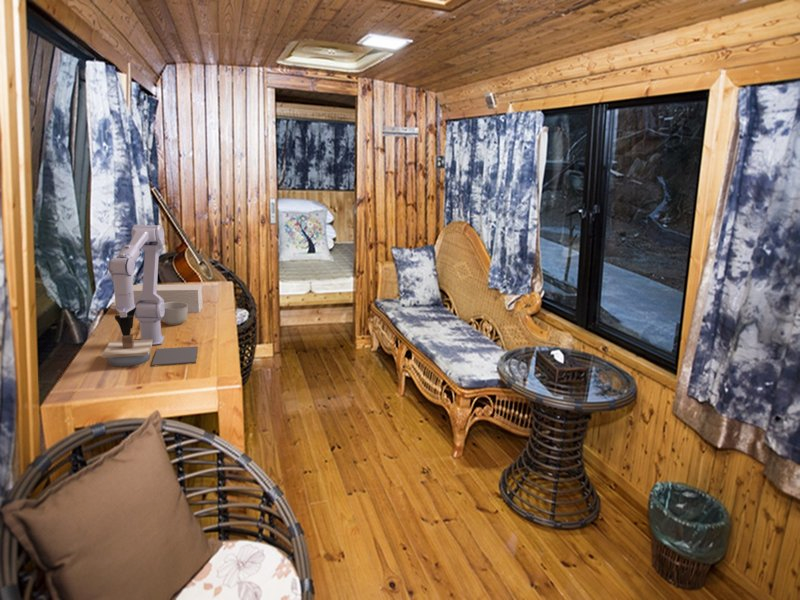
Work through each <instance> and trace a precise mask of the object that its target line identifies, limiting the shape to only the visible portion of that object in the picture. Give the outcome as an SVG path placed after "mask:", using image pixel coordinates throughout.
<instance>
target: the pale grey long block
mask: <svg viewBox="0 0 800 600" xmlns="http://www.w3.org/2000/svg"><path fill="white" fill-rule="evenodd" d="M142 289H143V284H133V294H134V303H135V298H136V297H138V296H139V295H140V294H142ZM157 294H158V295H159V296H160V297H161V298H163V300H164V303H167V302H183V303H186V304H187V305H188V307H187V309H188V314H189V313H190V314H192V313H193V314H196V313H197V314H198V313H200V312H201V311H202V309H203V308H204V302H203V301H204V300H203V284H202V283H200V284H198V283H197V284H194V283H193V284H189V283H187V284H157ZM145 302H156V301H145Z"/></svg>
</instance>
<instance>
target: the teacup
mask: <svg viewBox="0 0 800 600" xmlns="http://www.w3.org/2000/svg"><path fill="white" fill-rule="evenodd" d="M164 307H165V313H164V316H163V317H162V319H160V321H161V322H164V323H165V324H166V325H169V326H177V325H181V324H184V322H186V321H187V319H188V314H189V313H188V309H187V307H188V305H187V304H186V303H183V302H167V303H164Z"/></svg>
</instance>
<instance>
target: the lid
mask: <svg viewBox="0 0 800 600" xmlns="http://www.w3.org/2000/svg"><path fill="white" fill-rule="evenodd" d="M152 343H153V339H148V340H141V339H134V333H130V335H128V336H123V335H122V336H121V340H116V341H115V340H114V341H109V342H108V343H107V346H106V347H105V348H104V351H103V353H102V354H101V359H108V358H113V357H128V356H144V355H148V354H149V351H151V348H152V346H153V345H152Z"/></svg>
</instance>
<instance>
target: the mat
mask: <svg viewBox="0 0 800 600" xmlns="http://www.w3.org/2000/svg"><path fill="white" fill-rule="evenodd" d="M198 350H199V346H181V347H167V348H166V347H165V348H157V349H156V351H155V353H154V356H153V359H152V362H151V367H156V366H155V365H163V366H175V365H177V364H178V365H189V364H188V363H192V364H196V363H197V358H196V357H197V356H198Z"/></svg>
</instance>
